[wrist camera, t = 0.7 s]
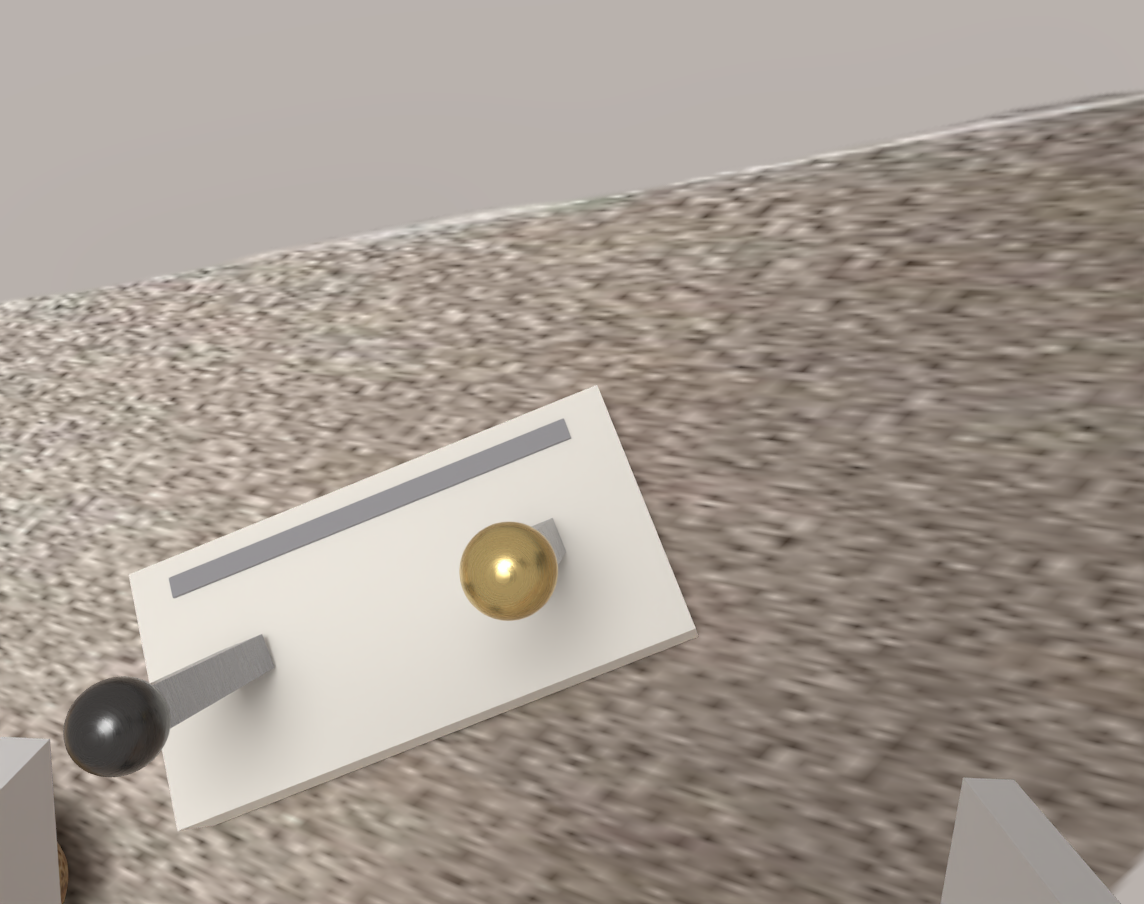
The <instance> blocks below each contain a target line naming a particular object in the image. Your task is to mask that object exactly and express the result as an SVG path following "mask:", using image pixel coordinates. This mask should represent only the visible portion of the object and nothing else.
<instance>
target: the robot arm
mask: <svg viewBox="0 0 1144 904" xmlns="http://www.w3.org/2000/svg"><path fill="white" fill-rule="evenodd" d="M0 904H61V895H60V880H59V865H58V851H57V836H56V821H55V807H54V792H53V777H52V762H51V748H50V739H38V738H14V737H0ZM941 904H1121V903H1120V902H1119V901H1118V900H1117V899H1116V897H1115V896H1114V895H1113V894H1112V893H1111V892H1110V890H1109V889H1108V888H1107V887H1106V886H1105V885H1104V883H1103V882H1102V881H1101V880H1100V879H1099V878H1098V876H1097V875H1096V874H1095V873H1094V872H1093V871H1092V870H1091V868H1090V867H1089V866H1088V865H1087V864H1086V863H1085V861H1084V860H1083V859H1082V858H1081V857H1080V856H1079V854H1078V853H1077V852H1076V851H1075V850H1074V849H1073V848H1072V846H1071V845H1070V844H1069V843H1068V842H1067V841H1066V839H1065V838H1064V837H1063V836H1062V835H1061V834H1060V832H1059V831H1058V830H1057V829H1056V828H1055V827H1054V825H1053V824H1052V823H1051V822H1050V821H1049V820H1048V819H1047V817H1046V816H1045V815H1044V814H1043V813H1042V812H1041V810H1040V809H1039V808H1038V807H1037V806H1036V805H1035V803H1034V802H1033V801H1032V800H1031V799H1030V798H1029V797H1028V795H1027V794H1026V793H1025V792H1024V791H1023V790H1022V788H1021V787H1020V786H1019V785H1018V784H1017V783H1016V781H1015V780H1009V779H985V778H963V781H962V786H961V792H960V798H959V803H958V809H957V814H956V820H955V826H954V831H953V837H952V842H951V848H950V854H949V859H948V865H947V870H946V876H945V882H944V887H943V893H942V898H941Z"/></svg>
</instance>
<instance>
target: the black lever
mask: <svg viewBox="0 0 1144 904" xmlns="http://www.w3.org/2000/svg"><path fill="white" fill-rule="evenodd" d="M273 668H275V666H274V664H273V661H272V659H271V656H270V654H269V651H268V648H267V646H266V643H265V641H264V638H263V635H262V634H261V635H258V636H256V637H253V638H251V639H248V640H246V641H243V642H241V643H238V644H236V645H233V646H231V647H228V648H226V649H223V650H221V651H219V652H216V653H214V654H212V655H210V656H208V657H206V658H203V659H201V660H199V661H197V662H195V663H193V664H190V665H188V666H186V667H184V668H182V669H180V670H177V671H175V672H173V673H171V674H169V675H167V676H164V677H162V678H160V679H158V680H156V681H154V682H151V683H148V682H146V681H144V680H142V679H138V678H134V677H126V676H125V677H113V678H109V679H106V680H103V681H100V682H98V683H96V684H94V685H92V686H91V687H89V688H88V689H86V690H85V691H84V692H83V693H82V694H81V695H80V696H79V697H78V698H77V699H76V700H75V702H74V703H73V704H72V706H71V707H70V709H69V711H68V714H67V716H66V719H65V723H64V730H63V735H64V743H65V746H66V749H67V752H68V754H69V755H70V757H71V758H72V760H73V761H74V762H75V763H76V764H77V765H78V766H79V767H80V768H82V769H83V770H85V771H87V772H88V773H91V774H94V775H97V776H101V777H119V776H124V775H128V774H131V773H134V772H136V771H138V770H140V769H142V768H143V767H145V766H146V765H148V764H149V763H150V762H151V761H152V760H154V759H155V757H156V756H157V755H158V754H159V753H160V751H161V750H162V748H163V747H164V745H165V743H166V741H167V738H168V736H169V732H170V729H171V728H172V727H174V726H176V725H177V724H179V723H181V722H183V721H184V720H186V719H188V718H189V717H191V716H193V715H195V714H196V713H198V712H200V711H201V710H203V709H205V708H207V707H208V706H210V705H212V704H213V703H215V702H217V701H219V700H220V699H222V698H224V697H225V696H227V695H229V694H230V693H232V692H234V691H236V690H237V689H239V688H241V687H242V686H244V685H246V684H248V683H249V682H251V681H253V680H254V679H256V678H258V677H260V676H261V675H263V674H265V673H266V672H268V671H270V670H272V669H273Z"/></svg>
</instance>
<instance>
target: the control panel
mask: <svg viewBox="0 0 1144 904" xmlns="http://www.w3.org/2000/svg"><path fill="white" fill-rule="evenodd" d="M551 518H553V520H554V522H555V525H556V527H557V530H558V532H559V535H560V537H561V540H562V542H563V545H564V547H565V550H566V553H565V555H564V556H563V558H562V559H561V561H560V562H559V564H558V578H557V583H556V587H555V589H554V592H553V594H552V596H551V597H550V599H549V600H548V602H547V603H546V604H545V605H544V606H543V607H542V608H541V609H540V610H539V611H537V612H536V613H534V614H533V615H531V616H529V617H526V618H523V619H520V620H515V621H502V620H497V619H493V618H491V617H488V616H486V615H484V614H482V613H481V612H480V611H478V610H477V609H476V608H475V607H474V606H473V605H472V604H471V603H470V602H469V600H468V599H467V597H466V596H465V594H464V591H463V589H462V586H461V582H460V575H459V568H460V561H461V557H462V554H463V551H464V549H465V547H466V546H467V544H468V543H469V541H470V540H471V539H472V538H473V537H474V536H475V535H476V534H477V533H478V532H479V531H481V530H482V529H484V528H485V527H488V526H490V525H492V524H495V523H500V522H519V523H523V524H526V525H529V526H534V525H536V524H539V523H541V522H544V521H546V520H549V519H551ZM129 578H130V583H131V589H132V594H133V599H134V605H135V610H136V615H137V620H138V626H139V631H140V636H141V641H142V647H143V652H144V657H145V662H146V668H147V673H148V678H149V683H151V682H154V681H156V680H158V679H160V678H162V677H164V676H167V675H169V674H171V673H173V672H175V671H177V670H180V669H182V668H184V667H186V666H188V665H190V664H193V663H195V662H197V661H199V660H201V659H203V658H206V657H208V656H210V655H212V654H214V653H216V652H219V651H221V650H223V649H226V648H228V647H231V646H233V645H236V644H238V643H241V642H243V641H246V640H248V639H251V638H253V637H256V636H258V635H261V634H262V635H263V638H264V641H265V643H266V646H267V648H268V651H269V654H270V656H271V659H272V661H273V664H274V666H275V668H273V669H272V670H270V671H268V672H266V673H265V674H263V675H261V676H260V677H258V678H256V679H254V680H253V681H251V682H249V683H248V684H246V685H244V686H242V687H241V688H239V689H237V690H236V691H234V692H232V693H230V694H229V695H227V696H225V697H224V698H222V699H220V700H219V701H217V702H215V703H213V704H212V705H210V706H208V707H207V708H205V709H203V710H201V711H200V712H198V713H196V714H195V715H193V716H191V717H189V718H188V719H186V720H184V721H183V722H181V723H179V724H177V725H176V726H174V727H172V728H171V729H170V732H169V736H168V738H167V741H166V743H165V745H164V747H163V748H162V752H163V757H164V763H165V768H166V773H167V778H168V784H169V789H170V794H171V799H172V805H173V810H174V815H175V820H176V826H177V831H181V830H188V829H195V828H202V827H208V826H215V825H217V824H220V823H222V822H225V821H227V820H230V819H232V818H235V817H238V816H240V815H243V814H245V813H248V812H250V811H253V810H256V809H258V808H261V807H263V806H266V805H268V804H271V803H273V802H276V801H279V800H281V799H284V798H286V797H289V796H291V795H294V794H296V793H299V792H302V791H304V790H307V789H309V788H312V787H314V786H317V785H320V784H322V783H325V782H327V781H330V780H332V779H335V778H337V777H340V776H343V775H345V774H348V773H350V772H353V771H355V770H358V769H361V768H363V767H366V766H368V765H371V764H373V763H376V762H378V761H381V760H384V759H386V758H389V757H391V756H394V755H396V754H399V753H402V752H404V751H407V750H409V749H412V748H414V747H417V746H419V745H422V744H425V743H427V742H430V741H432V740H435V739H437V738H440V737H443V736H445V735H448V734H450V733H453V732H455V731H458V730H460V729H463V728H466V727H468V726H471V725H473V724H476V723H478V722H481V721H483V720H486V719H489V718H491V717H494V716H496V715H499V714H501V713H504V712H507V711H509V710H512V709H514V708H517V707H519V706H522V705H524V704H527V703H530V702H532V701H535V700H537V699H540V698H542V697H545V696H548V695H550V694H553V693H555V692H558V691H560V690H563V689H565V688H568V687H571V686H573V685H576V684H578V683H581V682H583V681H586V680H589V679H591V678H594V677H596V676H599V675H601V674H604V673H606V672H609V671H612V670H614V669H617V668H619V667H622V666H624V665H627V664H629V663H632V662H635V661H637V660H640V659H642V658H645V657H647V656H650V655H653V654H655V653H658V652H660V651H663V650H665V649H668V648H670V647H673V646H676V645H678V644H681V643H683V642H686V641H688V640H691V639H694V638H696V637H699V636H698V633H697V630H696V628H695V625H694V623H693V620H692V618H691V615H690V613H689V610H688V608H687V605H686V603H685V601H684V598H683V596H682V593H681V591H680V588H679V586H678V583H677V581H676V578H675V576H674V573H673V571H672V568H671V566H670V564H669V561H668V559H667V556H666V554H665V551H664V549H663V546H662V544H661V541H660V539H659V536H658V534H657V532H656V529H655V527H654V524H653V522H652V519H651V517H650V514H649V512H648V509H647V507H646V504H645V502H644V499H643V497H642V495H641V492H640V490H639V487H638V485H637V482H636V480H635V477H634V475H633V472H632V470H631V467H630V465H629V462H628V460H627V458H626V455H625V453H624V450H623V448H622V445H621V443H620V440H619V438H618V435H617V433H616V430H615V428H614V426H613V423H612V421H611V418H610V416H609V413H608V411H607V408H606V406H605V403H604V401H603V398H602V396H601V393H600V391H599V389H598V386H597V385H595V386H593V387H590V388H588V389H586V390H583V391H581V392H578V393H576V394H573V395H571V396H568V397H566V398H563V399H561V400H558V401H556V402H553V403H551V404H549V405H546V406H544V407H541V408H539V409H536V410H534V411H531V412H529V413H526V414H524V415H521V416H519V417H516V418H514V419H511V420H509V421H507V422H504V423H502V424H499V425H497V426H494V427H492V428H489V429H487V430H484V431H482V432H479V433H477V434H474V435H472V436H470V437H467V438H465V439H462V440H460V441H457V442H455V443H452V444H450V445H447V446H445V447H442V448H440V449H437V450H435V451H433V452H430V453H428V454H425V455H423V456H420V457H418V458H415V459H413V460H410V461H408V462H405V463H403V464H400V465H398V466H396V467H393V468H391V469H388V470H386V471H383V472H381V473H378V474H376V475H373V476H371V477H368V478H366V479H363V480H361V481H359V482H356V483H354V484H351V485H349V486H346V487H344V488H341V489H339V490H336V491H334V492H331V493H329V494H326V495H324V496H322V497H319V498H317V499H314V500H312V501H309V502H307V503H304V504H302V505H299V506H297V507H294V508H292V509H289V510H287V511H285V512H282V513H280V514H277V515H275V516H272V517H270V518H267V519H265V520H262V521H260V522H257V523H255V524H252V525H250V526H248V527H245V528H243V529H240V530H238V531H235V532H233V533H230V534H228V535H225V536H223V537H220V538H218V539H215V540H213V541H211V542H208V543H206V544H203V545H201V546H198V547H196V548H193V549H191V550H188V551H186V552H183V553H181V554H178V555H176V556H174V557H171V558H169V559H166V560H164V561H161V562H159V563H156V564H154V565H151V566H149V567H146V568H144V569H141V570H139V571H137V572H134V573H132V574H129Z"/></svg>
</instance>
